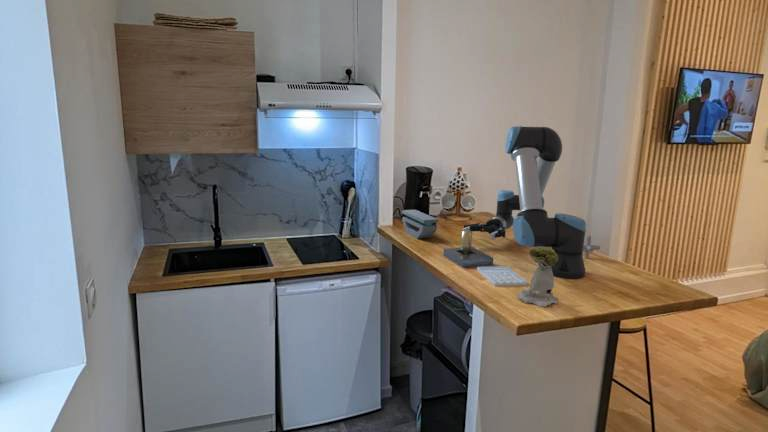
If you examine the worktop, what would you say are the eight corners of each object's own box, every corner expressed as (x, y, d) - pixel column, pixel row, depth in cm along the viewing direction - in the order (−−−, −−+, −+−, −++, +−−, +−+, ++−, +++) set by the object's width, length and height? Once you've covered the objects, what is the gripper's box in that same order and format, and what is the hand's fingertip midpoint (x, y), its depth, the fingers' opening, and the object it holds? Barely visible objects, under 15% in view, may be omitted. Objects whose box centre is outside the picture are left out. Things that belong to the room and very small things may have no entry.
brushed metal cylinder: (472, 259, 207) (474, 232, 204) (463, 260, 205) (464, 233, 203) (467, 256, 211) (469, 230, 208) (458, 257, 209) (459, 230, 207)
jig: (493, 265, 200) (493, 258, 200) (462, 267, 196) (463, 260, 195) (471, 253, 217) (472, 246, 216) (443, 255, 212) (443, 248, 212)
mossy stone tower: (522, 290, 172) (527, 240, 168) (560, 298, 166) (566, 246, 162) (514, 301, 162) (518, 248, 158) (554, 309, 155) (560, 254, 152)
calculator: (493, 287, 175) (494, 282, 175) (475, 270, 194) (476, 265, 194) (528, 287, 177) (529, 282, 177) (507, 269, 196) (507, 265, 196)
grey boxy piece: (401, 230, 256) (401, 210, 254) (414, 229, 259) (415, 209, 257) (423, 242, 233) (424, 220, 231) (437, 240, 236) (438, 219, 234)
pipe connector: (594, 255, 219) (596, 234, 217) (601, 261, 209) (604, 239, 207) (571, 254, 220) (574, 232, 218) (578, 260, 210) (580, 238, 208)
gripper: (520, 237, 225) (503, 247, 208) (471, 229, 239) (451, 237, 222) (521, 221, 223) (504, 230, 206) (472, 214, 237) (451, 222, 220)
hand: (476, 234), depth 214 cm, fingers open, 13 cm apart
